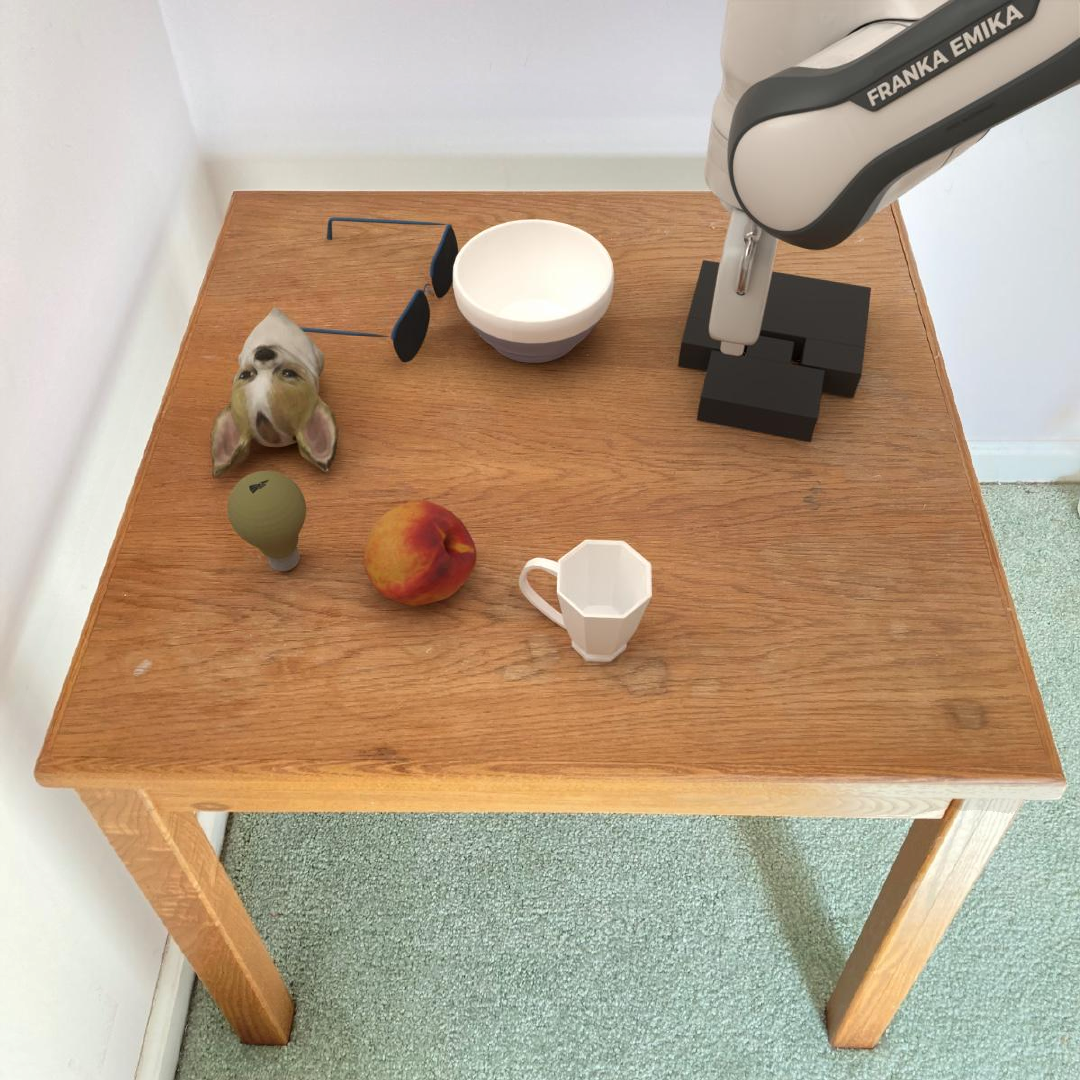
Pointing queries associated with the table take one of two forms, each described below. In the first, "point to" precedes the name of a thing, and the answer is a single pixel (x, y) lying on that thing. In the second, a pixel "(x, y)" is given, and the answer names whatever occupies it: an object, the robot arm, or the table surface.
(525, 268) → the bowl
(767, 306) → the base pad
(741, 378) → the black stepped block
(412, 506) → the fruit
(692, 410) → the table surface
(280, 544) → the light bulb
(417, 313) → the sunglasses
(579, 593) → the cup
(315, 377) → the ceramic sculpture
